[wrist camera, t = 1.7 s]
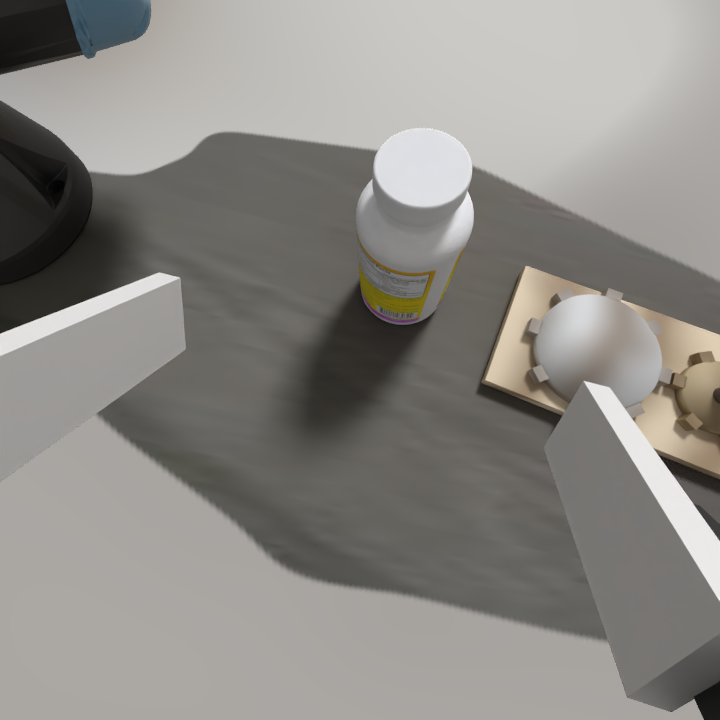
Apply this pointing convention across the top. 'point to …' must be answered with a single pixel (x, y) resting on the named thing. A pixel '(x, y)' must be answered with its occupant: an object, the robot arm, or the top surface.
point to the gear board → (612, 363)
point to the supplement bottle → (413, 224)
